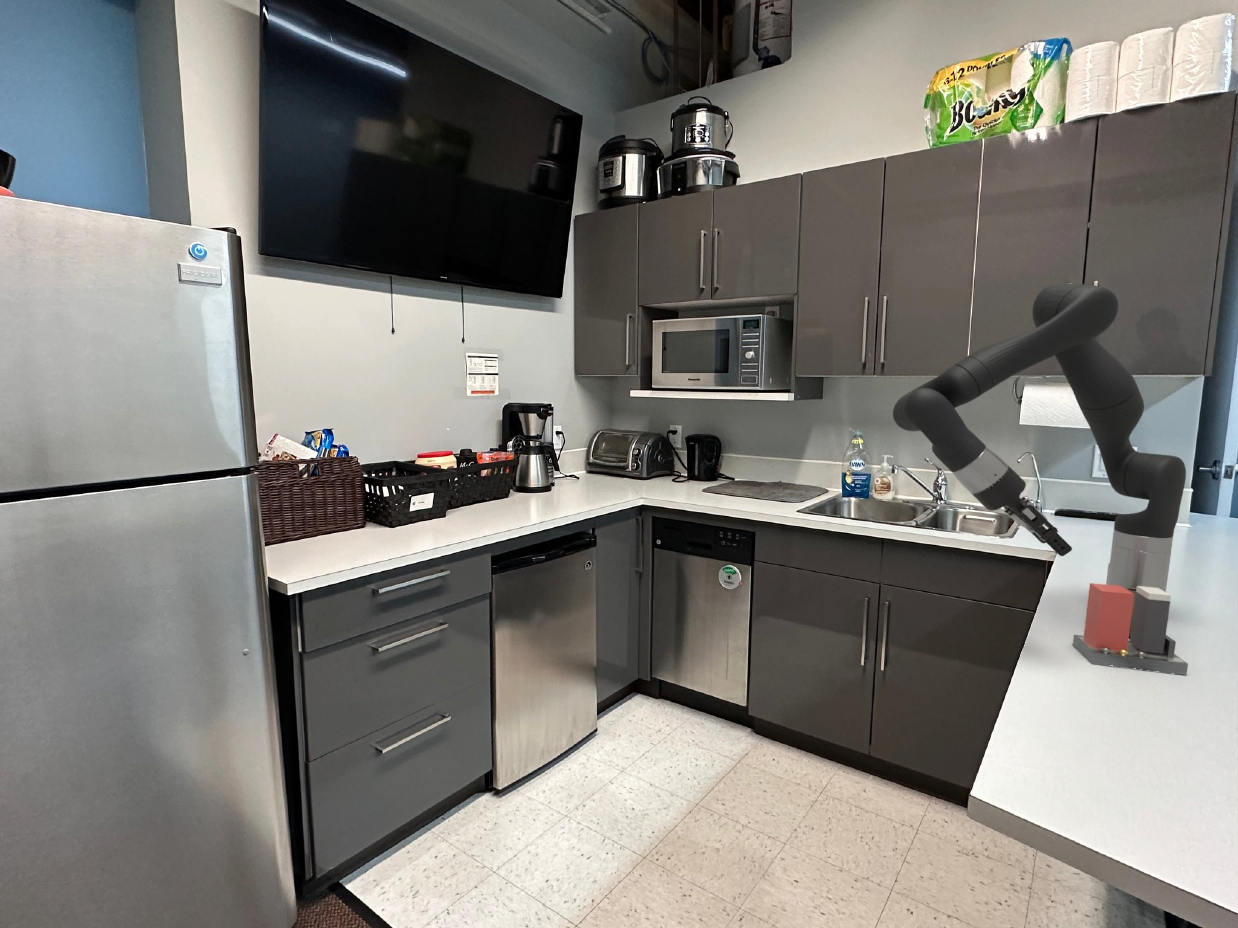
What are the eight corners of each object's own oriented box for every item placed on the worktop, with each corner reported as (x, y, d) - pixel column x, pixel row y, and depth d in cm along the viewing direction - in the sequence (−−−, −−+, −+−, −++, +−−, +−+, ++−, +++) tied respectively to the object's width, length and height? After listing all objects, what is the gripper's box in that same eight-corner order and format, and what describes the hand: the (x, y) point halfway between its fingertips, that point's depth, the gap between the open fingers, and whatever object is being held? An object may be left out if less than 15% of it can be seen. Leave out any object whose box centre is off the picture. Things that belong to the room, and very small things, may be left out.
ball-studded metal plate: (1092, 663, 104) (1095, 635, 103) (1072, 645, 112) (1075, 618, 111) (1186, 675, 100) (1190, 645, 100) (1159, 655, 108) (1163, 627, 107)
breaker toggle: (1141, 651, 103) (1149, 593, 102) (1129, 641, 107) (1136, 585, 106) (1163, 653, 103) (1171, 595, 101) (1150, 644, 106) (1157, 587, 105)
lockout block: (1083, 638, 109) (1089, 583, 108) (1113, 641, 108) (1120, 585, 107) (1095, 648, 105) (1102, 591, 104) (1126, 651, 104) (1134, 593, 103)
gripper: (1019, 468, 101) (1094, 542, 99) (994, 458, 114) (1060, 523, 113) (979, 499, 103) (1053, 571, 101) (960, 485, 117) (1024, 549, 115)
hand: (1057, 546), depth 107 cm, fingers open, 8 cm apart
